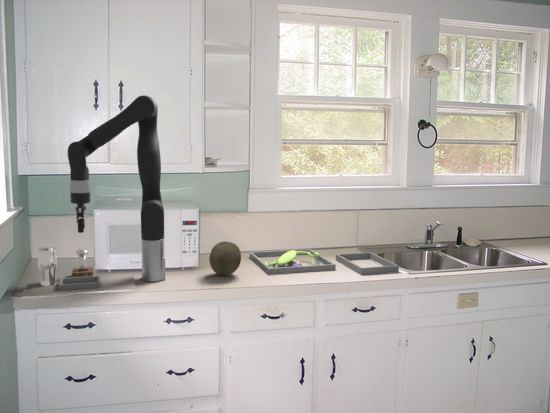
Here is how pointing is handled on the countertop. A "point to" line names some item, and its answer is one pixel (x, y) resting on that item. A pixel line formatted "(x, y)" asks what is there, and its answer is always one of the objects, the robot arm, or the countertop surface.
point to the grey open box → (327, 266)
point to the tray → (80, 285)
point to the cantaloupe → (225, 258)
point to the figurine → (290, 258)
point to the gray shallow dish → (386, 268)
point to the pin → (82, 259)
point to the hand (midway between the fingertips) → (81, 230)
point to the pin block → (82, 272)
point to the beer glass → (47, 265)
